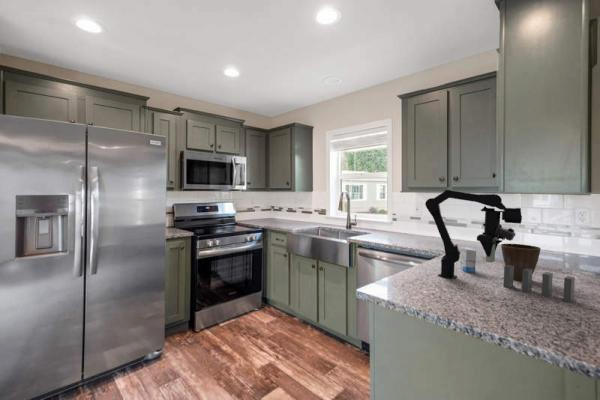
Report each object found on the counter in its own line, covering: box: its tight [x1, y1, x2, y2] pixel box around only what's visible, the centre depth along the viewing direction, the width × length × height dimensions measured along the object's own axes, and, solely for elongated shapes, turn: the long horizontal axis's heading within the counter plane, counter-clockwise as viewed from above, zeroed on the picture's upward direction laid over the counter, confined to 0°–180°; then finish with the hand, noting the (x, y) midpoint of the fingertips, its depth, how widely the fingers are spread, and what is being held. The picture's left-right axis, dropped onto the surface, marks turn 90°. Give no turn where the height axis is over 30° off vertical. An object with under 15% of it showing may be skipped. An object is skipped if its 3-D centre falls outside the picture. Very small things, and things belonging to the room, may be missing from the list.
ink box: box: [459, 246, 477, 274], centre depth 149 cm, size 9×5×12 cm, turn 168°
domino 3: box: [541, 271, 553, 298], centre depth 113 cm, size 5×2×9 cm, turn 126°
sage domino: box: [485, 244, 496, 264], centre depth 128 cm, size 2×5×9 cm, turn 130°
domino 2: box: [521, 268, 533, 294], centre depth 118 cm, size 5×2×9 cm, turn 126°
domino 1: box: [503, 265, 514, 289], centre depth 124 cm, size 5×2×9 cm, turn 126°
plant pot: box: [500, 243, 542, 282], centre depth 135 cm, size 15×15×16 cm
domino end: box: [563, 275, 576, 304], centre depth 108 cm, size 5×2×9 cm, turn 126°
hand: (490, 255), depth 129 cm, fingers closed on sage domino, 5 cm apart
